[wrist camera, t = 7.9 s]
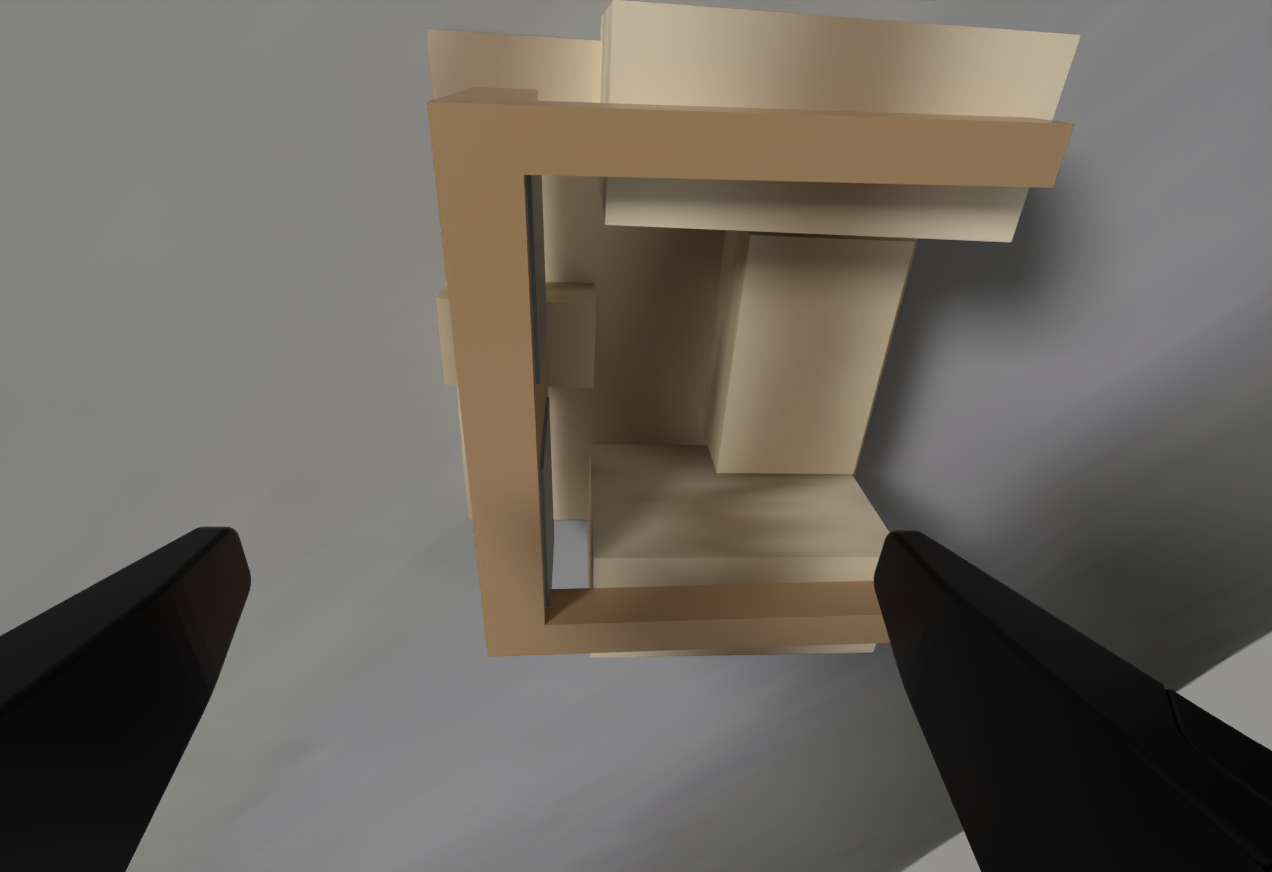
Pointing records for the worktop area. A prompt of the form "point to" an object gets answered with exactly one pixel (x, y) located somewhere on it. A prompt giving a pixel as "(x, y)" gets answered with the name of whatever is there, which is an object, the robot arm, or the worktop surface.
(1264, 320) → the worktop surface
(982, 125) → the glasses
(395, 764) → the worktop surface
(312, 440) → the worktop surface
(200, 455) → the worktop surface
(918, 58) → the wooden block stand
